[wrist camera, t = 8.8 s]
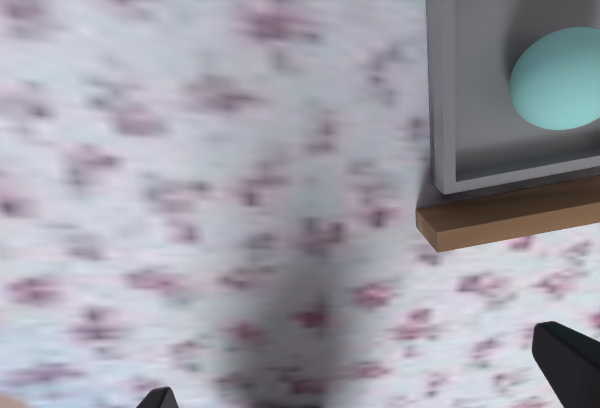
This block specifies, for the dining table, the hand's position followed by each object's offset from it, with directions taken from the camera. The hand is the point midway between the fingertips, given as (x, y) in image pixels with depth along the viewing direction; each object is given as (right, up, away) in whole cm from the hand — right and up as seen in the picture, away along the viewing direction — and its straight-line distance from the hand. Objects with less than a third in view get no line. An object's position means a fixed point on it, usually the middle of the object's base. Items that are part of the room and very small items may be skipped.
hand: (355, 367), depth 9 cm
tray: (+10, +11, +10) cm, 18 cm away
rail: (+15, +5, +13) cm, 20 cm away
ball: (+10, +10, +10) cm, 18 cm away
